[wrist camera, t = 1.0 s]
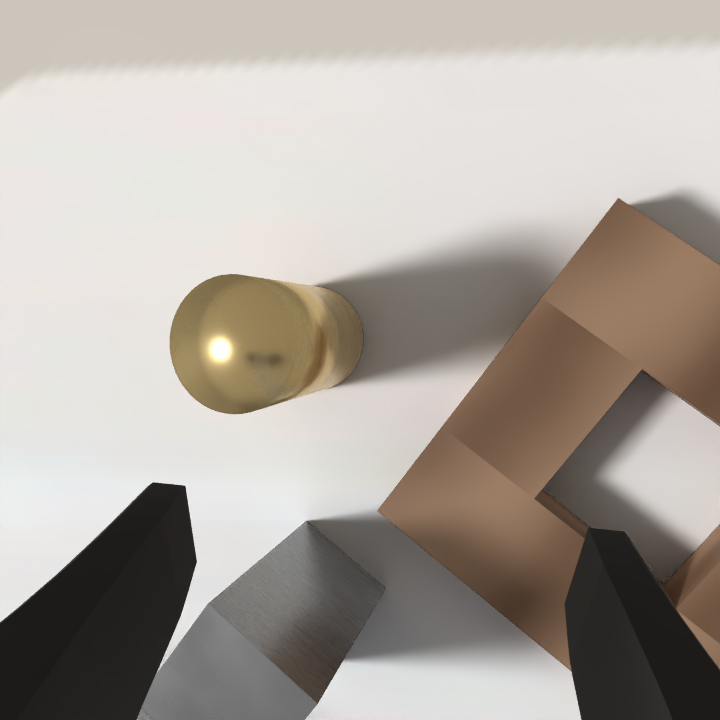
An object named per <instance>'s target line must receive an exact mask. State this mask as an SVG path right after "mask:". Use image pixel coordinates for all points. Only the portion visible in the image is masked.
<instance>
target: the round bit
mask: <svg viewBox="0 0 720 720" xmlns="http://www.w3.org/2000/svg"><path fill="white" fill-rule="evenodd" d="M362 348H363V330H362V325H361V322H360V319H359V317H358V315H357V313H356V311H355V309H354V308H353V306H352V305H351V304H350V303H349V302H348V301H347V300H346V299H345V298H344V297H343V296H341V295H340V294H338V293H336V292H334V291H332V290H329V289H326V288H321V287H315V286H309V285H303V284H296V283H290V282H283V281H277V280H270V279H264V278H257V277H251V276H245V275H238V274H228V275H220V276H217V277H213V278H211V279H208V280H206V281H204V282H203V283H201V284H199V285H198V286H197V287H195V288H194V289H193V290H192V291H191V292H190V293H189V294H188V295H187V296H186V297H185V298H184V300H183V301H182V303H181V304H180V306H179V308H178V310H177V312H176V314H175V317H174V319H173V323H172V327H171V333H170V353H171V359H172V363H173V366H174V369H175V372H176V374H177V376H178V378H179V380H180V382H181V383H182V385H183V386H184V388H185V389H186V390H187V391H188V393H189V394H190V395H191V396H192V397H193V398H194V399H196V400H197V401H198V402H200V403H201V404H202V405H204V406H206V407H208V408H210V409H212V410H215V411H218V412H222V413H227V414H243V413H248V412H252V411H255V410H259V409H262V408H265V407H268V406H272V405H275V404H278V403H281V402H285V401H288V400H291V399H294V398H298V397H301V396H304V395H308V394H311V393H314V392H317V391H321V390H324V389H327V388H330V387H333V386H335V385H337V384H339V383H340V382H342V381H343V380H345V379H346V378H347V377H348V376H349V375H350V374H351V372H352V371H353V370H354V368H355V367H356V365H357V363H358V361H359V359H360V356H361V353H362Z"/></svg>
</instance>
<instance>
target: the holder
mask: <svg viewBox="0 0 720 720" xmlns="http://www.w3.org/2000/svg"><path fill="white" fill-rule="evenodd" d="M641 370H642V371H643V372H644V373H646V374H647V375H649V376H650V377H651V378H653V379H654V380H656V381H657V382H658V383H660V384H661V385H663V386H664V387H665V388H667V389H668V390H670V391H671V392H672V393H674V394H675V395H677V396H678V397H679V398H681V399H682V400H684V401H685V402H686V403H688V404H689V405H691V406H692V407H693V408H695V409H696V410H698V411H699V412H700V413H702V414H703V415H705V416H706V417H707V418H709V419H710V420H712V421H713V422H715V423H716V424H717V425H719V426H720V265H719V264H717V263H716V262H714V261H713V260H711V259H710V258H708V257H707V256H705V255H704V254H702V253H701V252H699V251H698V250H696V249H695V248H693V247H692V246H690V245H689V244H687V243H685V242H684V241H682V240H681V239H679V238H678V237H676V236H675V235H673V234H672V233H670V232H669V231H667V230H666V229H664V228H663V227H661V226H660V225H658V224H657V223H655V222H654V221H652V220H651V219H649V218H648V217H646V216H645V215H643V214H642V213H640V212H639V211H637V210H636V209H634V208H633V207H631V206H630V205H628V204H627V203H625V202H624V201H622V200H621V199H619V198H618V199H617V200H616V202H615V203H614V204H613V206H612V207H611V208H610V209H609V211H608V212H607V213H606V215H605V216H604V217H603V219H602V220H601V221H600V222H599V224H598V225H597V226H596V228H595V229H594V230H593V232H592V233H591V234H590V235H589V237H588V238H587V239H586V241H585V242H584V243H583V245H582V246H581V247H580V248H579V250H578V251H577V252H576V254H575V255H574V256H573V258H572V259H571V260H570V261H569V263H568V264H567V265H566V267H565V268H564V269H563V270H562V272H561V273H560V274H559V276H558V277H557V278H556V280H555V281H554V282H553V283H552V285H551V286H550V287H549V289H548V290H547V291H546V293H545V294H544V295H543V296H542V298H541V299H540V300H539V302H538V303H537V304H536V306H535V307H534V308H533V309H532V311H531V312H530V313H529V315H528V316H527V317H526V318H525V320H524V321H523V322H522V324H521V325H520V326H519V328H518V329H517V330H516V331H515V333H514V334H513V335H512V337H511V338H510V339H509V341H508V342H507V343H506V344H505V346H504V347H503V348H502V350H501V351H500V352H499V354H498V355H497V356H496V357H495V359H494V360H493V361H492V363H491V364H490V365H489V366H488V368H487V369H486V370H485V372H484V373H483V374H482V376H481V377H480V378H479V379H478V381H477V382H476V383H475V385H474V386H473V387H472V389H471V390H470V391H469V392H468V394H467V395H466V396H465V398H464V399H463V400H462V402H461V403H460V404H459V405H458V407H457V408H456V409H455V411H454V412H453V413H452V414H451V416H450V417H449V418H448V420H447V421H446V422H445V424H444V425H443V426H442V427H441V429H440V430H439V431H438V433H437V434H436V435H435V437H434V438H433V439H432V440H431V442H430V443H429V444H428V446H427V447H426V448H425V450H424V451H423V452H422V453H421V455H420V456H419V457H418V459H417V460H416V461H415V462H414V464H413V465H412V466H411V468H410V469H409V470H408V472H407V473H406V474H405V475H404V477H403V478H402V479H401V481H400V482H399V483H398V485H397V486H396V487H395V488H394V490H393V491H392V492H391V494H390V495H389V496H388V498H387V499H386V500H385V501H384V503H383V504H382V505H381V507H380V508H379V509H378V512H379V513H380V514H382V515H383V516H384V517H385V518H386V519H388V520H389V521H390V522H391V523H392V524H394V525H395V526H396V527H397V528H399V529H400V530H401V531H402V532H403V533H405V534H406V535H407V536H408V537H409V538H411V539H412V540H413V541H414V542H415V543H417V544H418V545H419V546H420V547H422V548H423V549H424V550H425V551H426V552H428V553H429V554H430V555H431V556H432V557H434V558H435V559H436V560H437V561H438V562H440V563H441V564H442V565H443V566H445V567H446V568H447V569H448V570H449V571H451V572H452V573H453V574H454V575H455V576H457V577H458V578H459V579H460V580H461V581H463V582H464V583H465V584H466V585H468V586H469V587H470V588H471V589H472V590H474V591H475V592H476V593H477V594H478V595H480V596H481V597H482V598H483V599H484V600H486V601H487V602H488V603H489V604H491V605H492V606H493V607H494V608H495V609H497V610H498V611H499V612H500V613H501V614H503V615H504V616H505V617H506V618H507V619H509V620H510V621H511V622H512V623H514V624H515V625H516V626H517V627H518V628H520V629H521V630H522V631H523V632H524V633H526V634H527V635H528V636H529V637H530V638H532V639H533V640H534V641H535V642H537V643H538V644H539V645H540V646H541V647H543V648H544V649H545V650H546V651H547V652H549V653H550V654H551V655H552V656H553V657H555V658H556V659H557V660H558V661H560V662H561V663H562V664H563V665H564V666H566V667H567V668H568V669H569V670H570V671H571V665H570V659H569V649H568V639H567V628H566V616H565V604H564V603H565V600H566V597H567V594H568V591H569V587H570V584H571V581H572V578H573V575H574V572H575V568H576V565H577V562H578V559H579V556H580V553H581V549H582V546H583V543H584V540H585V537H586V533H587V530H588V528H590V527H589V526H588V525H586V524H585V523H584V522H582V521H581V520H580V519H579V518H577V517H576V516H575V515H573V514H572V513H571V512H570V511H568V510H567V509H566V508H564V507H563V506H562V505H560V504H559V503H558V502H557V501H555V500H554V499H553V498H551V497H550V496H549V495H548V494H546V493H545V492H544V491H542V489H543V488H544V486H545V485H546V484H547V483H548V482H549V480H550V479H551V478H552V477H553V476H554V474H555V473H556V472H557V471H558V470H559V468H560V467H561V466H562V465H563V463H564V462H565V461H566V460H567V459H568V457H569V456H570V455H571V454H572V453H573V451H574V450H575V449H576V448H577V447H578V445H579V444H580V443H581V442H582V441H583V439H584V438H585V437H586V436H587V435H588V433H589V432H590V431H591V430H592V429H593V427H594V426H595V425H596V424H597V423H598V421H599V420H600V419H601V418H602V417H603V415H604V414H605V413H606V412H607V411H608V409H609V408H610V407H611V406H612V405H613V403H614V402H615V401H616V400H617V399H618V397H619V396H620V395H621V394H622V392H623V391H624V390H625V389H626V388H627V386H628V385H629V384H630V383H631V382H632V380H633V379H634V378H635V377H636V376H637V374H638V373H639V372H640V371H641ZM656 580H657V579H656ZM657 581H658V583H659V584H660V586H661V587H662V589H663V590H664V592H665V593H666V595H667V596H668V598H669V599H670V601H671V602H672V604H673V605H674V607H675V608H676V610H677V611H678V612H679V614H680V615H681V617H682V618H683V620H684V621H685V622H686V624H687V625H688V627H689V628H690V629H691V631H692V632H693V633H694V635H695V636H696V638H697V639H698V640H699V642H700V643H701V644H702V646H703V647H704V649H705V650H706V651H707V653H708V654H709V656H710V657H711V658H712V660H713V661H714V662H715V663H716V665H717V666H718V667H719V669H720V525H719V526H718V527H717V528H716V529H715V530H714V531H713V532H712V533H711V534H710V536H709V537H708V538H707V539H706V540H705V541H704V542H703V543H702V544H701V545H700V546H699V548H698V549H697V550H696V551H695V552H694V553H693V554H692V555H691V556H690V557H689V558H688V560H687V561H686V562H685V563H684V564H683V565H682V566H681V567H680V568H679V569H678V570H677V572H676V573H675V574H674V575H673V576H672V577H671V578H670V579H669V580H668V581H667V582H666V584H665V585H664V584H662V583H661V582H660V581H659V580H657Z"/></svg>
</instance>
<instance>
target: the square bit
mask: <svg viewBox="0 0 720 720" xmlns="http://www.w3.org/2000/svg"><path fill="white" fill-rule="evenodd" d="M384 590H385V587H384V586H382V585H381V584H380V583H379V582H378V581H377V580H375V579H374V578H373V577H372V576H371V575H369V574H368V573H367V572H366V571H365V570H364V569H362V568H361V567H360V566H359V565H358V564H357V563H355V562H354V561H353V560H352V559H351V558H349V557H348V556H347V555H346V554H345V553H344V552H342V551H341V550H340V549H339V548H338V547H337V546H335V545H334V544H333V543H332V542H331V541H329V540H328V539H327V538H326V537H325V536H324V535H322V534H321V533H320V532H319V531H318V530H317V529H315V528H314V527H313V526H312V525H311V524H309V523H308V522H307V521H306V522H304V523H303V524H302V525H301V526H300V527H298V528H297V529H296V530H295V531H294V532H293V533H291V534H290V535H289V536H288V537H287V538H285V539H284V540H283V541H282V542H281V543H280V544H278V545H277V546H276V547H275V548H274V549H272V550H271V551H270V552H269V553H268V554H266V555H265V556H264V557H263V558H262V559H261V560H259V561H258V562H257V563H256V564H255V565H253V566H252V567H251V568H250V569H249V570H247V571H246V572H245V573H244V574H243V575H242V576H240V577H239V578H238V579H237V580H236V581H234V582H233V583H232V584H231V585H230V586H229V587H227V588H226V589H225V590H224V591H223V592H221V593H220V594H219V595H218V596H217V597H215V598H214V599H213V600H212V601H211V602H210V603H208V604H207V606H206V607H205V609H204V610H203V611H202V613H201V614H200V615H199V617H198V618H197V620H196V621H195V622H194V624H193V625H192V626H191V628H190V629H189V631H188V632H187V633H186V635H185V636H184V637H183V639H182V640H181V641H180V643H179V644H178V646H177V647H176V648H175V650H174V651H173V652H172V654H171V655H170V657H169V658H168V659H167V661H166V662H165V663H164V665H163V666H162V668H161V669H160V670H159V672H158V673H157V674H156V676H155V677H154V680H153V682H152V684H151V687H150V689H149V691H148V694H147V696H146V698H145V701H144V703H143V705H142V707H141V708H142V709H143V710H144V711H145V712H146V713H147V714H148V715H149V716H150V717H151V718H152V719H153V720H305V719H306V717H307V716H308V715H309V714H310V712H311V711H312V710H313V709H314V708H315V706H316V705H317V704H318V702H319V700H320V699H321V697H322V695H323V694H324V692H325V690H326V689H327V687H328V685H329V684H330V682H331V680H332V678H333V677H334V675H335V673H336V672H337V670H338V668H339V667H340V665H341V663H342V661H343V660H344V658H345V656H346V655H347V653H348V651H349V650H350V648H351V646H352V644H353V643H354V641H355V639H356V638H357V636H358V634H359V633H360V631H361V629H362V627H363V626H364V624H365V622H366V621H367V619H368V617H369V616H370V614H371V612H372V611H373V609H374V607H375V605H376V604H377V602H378V600H379V599H380V597H381V595H382V594H383V592H384Z"/></svg>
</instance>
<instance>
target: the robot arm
mask: <svg viewBox="0 0 720 720" xmlns="http://www.w3.org/2000/svg"><path fill="white" fill-rule="evenodd" d="M196 563H197V560H196V553H195V547H194V540H193V534H192V527H191V520H190V514H189V507H188V501H187V494H186V487H185V486H182V485H173V484H163V483H154V482H153V483H152V484H150V485H149V486H148V487H147V488H146V489H145V490H144V491H143V492H142V493H141V494H140V495H139V496H138V497H137V498H136V499H135V500H134V501H133V502H132V503H131V504H130V505H129V506H128V507H127V508H126V509H125V510H124V511H123V512H122V513H121V514H120V515H119V516H118V517H117V518H116V519H115V520H114V521H113V522H112V523H111V524H110V525H109V526H108V527H106V528H105V529H104V530H103V531H102V532H101V533H100V534H99V535H98V536H97V537H96V538H95V539H94V540H93V541H92V542H91V543H90V544H89V545H88V546H87V547H86V548H85V549H84V550H82V551H81V552H80V553H79V554H78V555H77V556H76V557H75V558H74V559H73V560H72V561H71V562H70V563H69V564H67V565H66V566H65V567H64V568H63V569H62V570H61V571H60V572H59V573H58V574H57V575H56V576H54V577H53V578H52V579H51V580H50V581H49V582H48V583H46V584H45V585H44V586H43V587H42V588H41V589H39V590H38V591H37V592H36V593H35V594H34V595H32V596H31V597H30V598H29V599H28V600H27V601H25V602H24V603H23V604H22V605H21V606H20V607H18V608H17V609H16V610H15V611H14V612H13V613H11V614H10V615H9V616H8V617H6V618H5V619H4V620H3V621H1V622H0V720H136V719H137V717H138V714H139V712H140V710H141V707H142V705H143V703H144V701H145V698H146V696H147V694H148V691H149V689H150V687H151V684H152V682H153V680H154V677H155V675H156V673H157V670H158V668H159V666H160V663H161V661H162V659H163V657H164V654H165V652H166V649H167V647H168V645H169V642H170V640H171V638H172V635H173V633H174V631H175V628H176V626H177V623H178V621H179V619H180V616H181V613H182V610H183V607H184V604H185V600H186V597H187V594H188V591H189V587H190V584H191V580H192V577H193V573H194V570H195V566H196ZM564 604H565V616H566V628H567V639H568V649H569V659H570V665H571V671H572V676H573V681H574V685H575V690H576V695H577V700H578V705H579V710H580V714H581V719H582V720H720V669H719V667H718V666H717V665H716V663H715V662H714V661H713V660H712V658H711V657H710V656H709V654H708V653H707V651H706V650H705V649H704V647H703V646H702V644H701V643H700V642H699V640H698V639H697V638H696V636H695V635H694V633H693V632H692V631H691V629H690V628H689V627H688V625H687V624H686V622H685V621H684V620H683V618H682V617H681V615H680V614H679V612H678V611H677V610H676V608H675V607H674V605H673V604H672V602H671V601H670V599H669V598H668V596H667V595H666V593H665V592H664V590H663V589H662V587H661V586H660V584H659V583H658V581H657V580H656V578H655V577H654V575H653V574H652V572H651V571H650V569H649V568H648V566H647V565H646V563H645V562H644V560H643V559H642V557H641V555H640V554H639V552H638V551H637V549H636V548H635V546H634V545H633V543H632V541H631V540H630V538H629V537H628V536H627V535H626V533H625V532H622V531H612V530H603V529H593V528H588V530H587V533H586V537H585V540H584V543H583V546H582V549H581V553H580V556H579V559H578V562H577V565H576V568H575V572H574V575H573V578H572V581H571V584H570V587H569V591H568V594H567V597H566V600H565V603H564Z"/></svg>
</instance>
